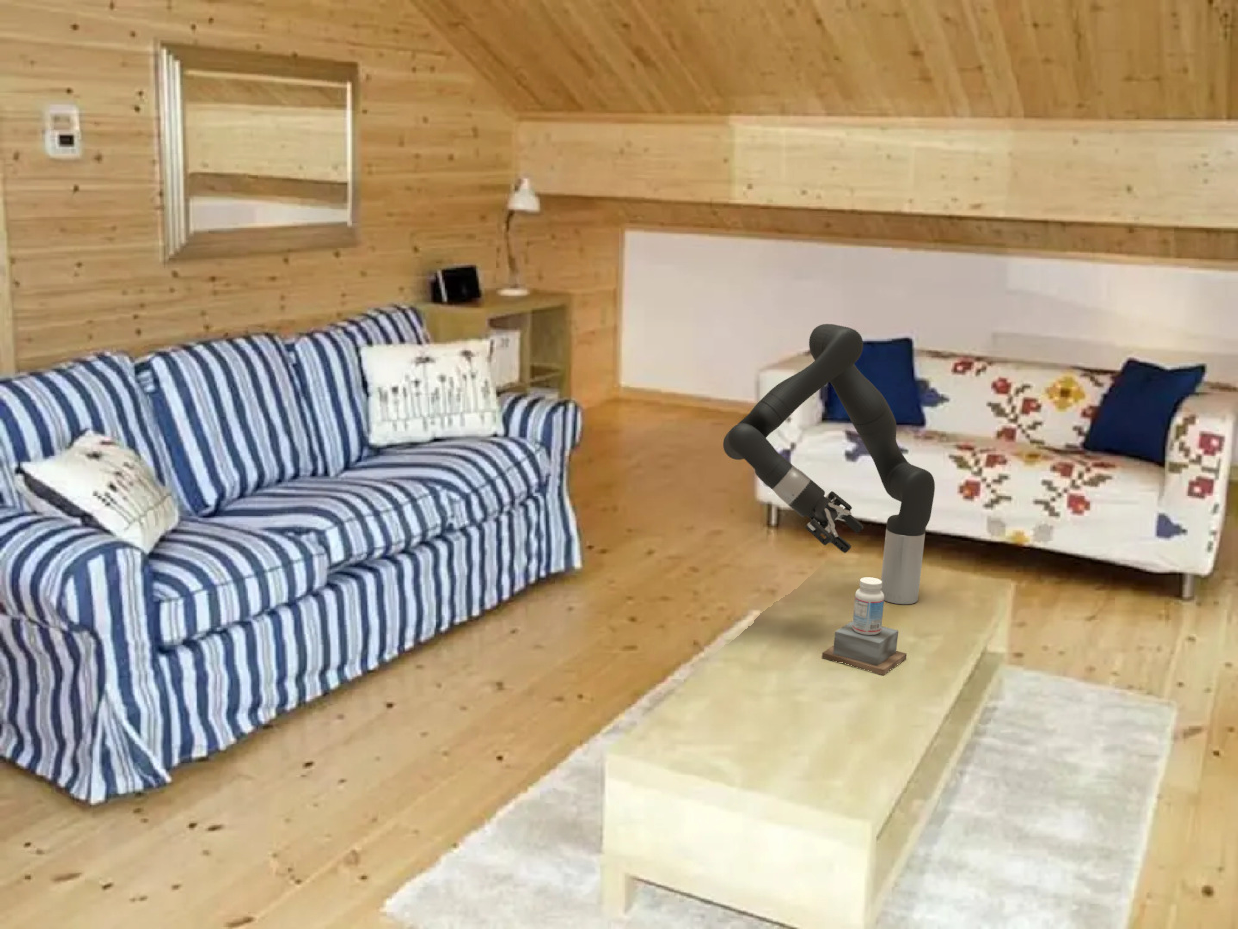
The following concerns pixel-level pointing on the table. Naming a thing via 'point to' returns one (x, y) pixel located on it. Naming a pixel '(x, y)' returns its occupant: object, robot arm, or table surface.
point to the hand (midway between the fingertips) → (854, 539)
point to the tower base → (866, 649)
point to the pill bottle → (868, 607)
